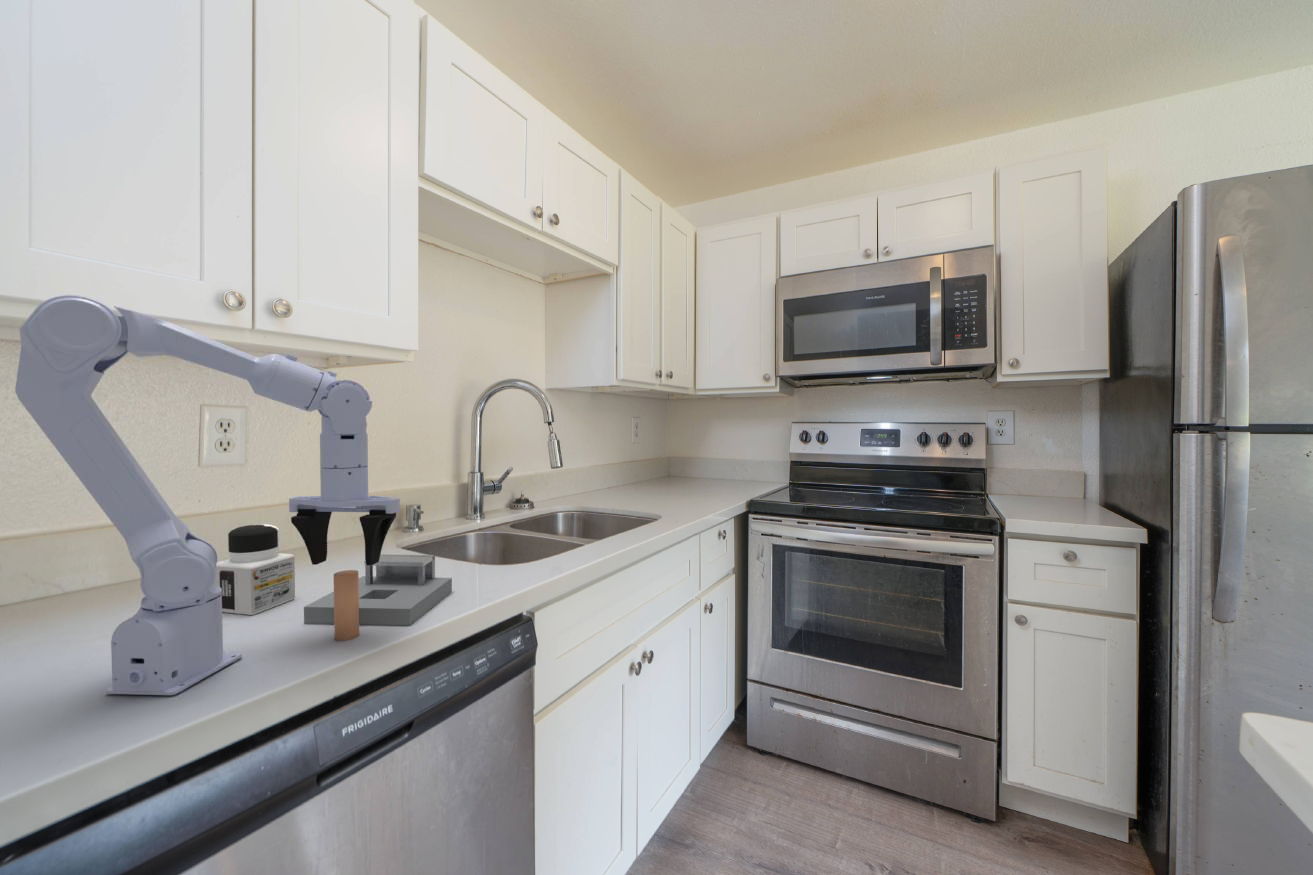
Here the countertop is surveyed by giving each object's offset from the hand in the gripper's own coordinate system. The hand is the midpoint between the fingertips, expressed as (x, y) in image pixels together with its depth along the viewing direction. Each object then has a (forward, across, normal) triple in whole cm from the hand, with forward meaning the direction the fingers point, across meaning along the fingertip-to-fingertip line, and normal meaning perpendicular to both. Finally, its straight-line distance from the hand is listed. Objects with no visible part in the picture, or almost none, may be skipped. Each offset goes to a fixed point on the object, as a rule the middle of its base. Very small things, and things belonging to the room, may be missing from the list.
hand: (345, 563), depth 73 cm
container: (+11, +22, -11) cm, 27 cm away
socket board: (+10, +1, -12) cm, 16 cm away
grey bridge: (+8, +1, -17) cm, 19 cm away
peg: (+10, 0, 0) cm, 10 cm away
